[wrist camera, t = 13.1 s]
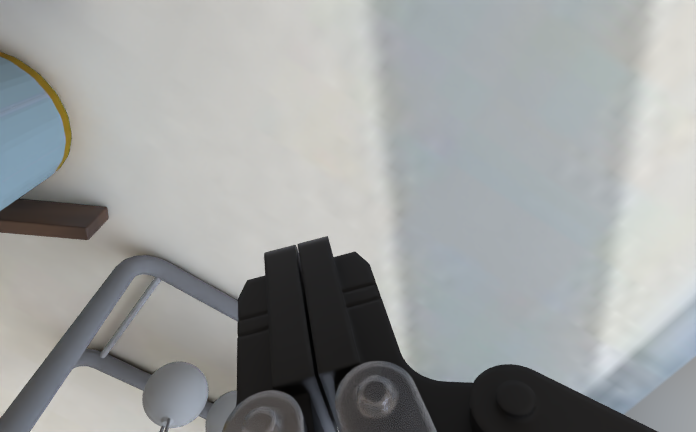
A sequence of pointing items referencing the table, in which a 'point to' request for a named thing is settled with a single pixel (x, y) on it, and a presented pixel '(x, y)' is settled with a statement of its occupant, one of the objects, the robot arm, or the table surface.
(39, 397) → the newton's cradle
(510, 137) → the table surface
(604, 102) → the table surface
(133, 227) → the table surface
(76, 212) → the bay
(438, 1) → the table surface
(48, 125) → the bottle
